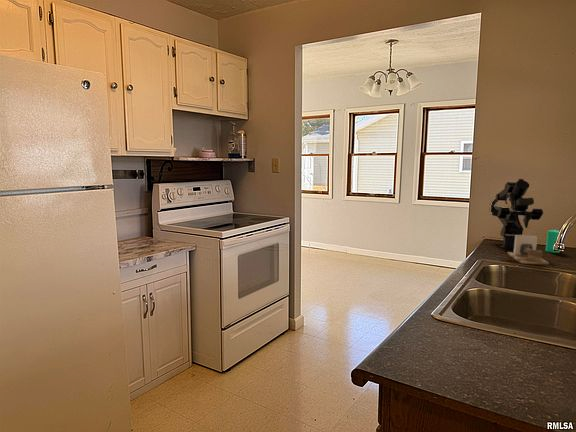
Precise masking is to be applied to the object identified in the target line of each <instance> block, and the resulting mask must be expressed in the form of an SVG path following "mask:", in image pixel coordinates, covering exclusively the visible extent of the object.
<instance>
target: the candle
mask: <svg viewBox="0 0 576 432" xmlns="http://www.w3.org/2000/svg"><path fill="white" fill-rule="evenodd" d="M559 231H560V230H557V229H550V230H547V232H546V233H547V234H546V244H545V251H546V252H548V253H555V254H556V253H557V254H559V253H560V252H561V250H560V251H554V250H553V245H554V243H555V241H556V239H557V236H558V234H559Z"/></svg>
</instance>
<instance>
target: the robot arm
mask: <svg viewBox="0 0 576 432" xmlns="http://www.w3.org/2000/svg"><path fill="white" fill-rule="evenodd" d="M529 188H530V183H529V182H528V181H526V180H524V179H523V178H518V180H517V181H507V182H506V183H505V185H504V189H502V190H501V191H499V192H498V193H496V195H495V198H496V199H495V198H494V199H495V200H494V199H493V200H494V201H493V200H492V201H493V202H492V201H491V202H492V205H491V204H490V205H491V212H492V214H491V215H492V216H494V217H497V218H498V220H499V221H500V222H501V224H502V225H503V226H502V228H501V230H500V233H499V234H500V236H501V237H503V241H502V245H500V246H499V247H500V248H502V249H504V250H505V249H506V250H513V251H514V242H515V235H523V232H524V228H525V229H528V226H529V221H531V220H533V221H539V220H540V219H541V218H542V216H543V214H544V210H543V209H542V208H532V210H531V211H530V210H528V209H529V206H532V205H534V204H535V199H534V198H533V197H523V196H525V195H526V194H527V192H528V190H529ZM499 201H504V203H505V204H508V202H507V201H509V203H510V207H508V208H502V207H497V206H494V205H497V203H498V202H499ZM519 216H522V217H523V219H522V221H523V225H524V226H523V225H522V224H521V223H522V222H521V221H520V218H519ZM523 227H524V228H523Z"/></svg>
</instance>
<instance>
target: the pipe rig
mask: <svg viewBox="0 0 576 432" xmlns="http://www.w3.org/2000/svg"><path fill="white" fill-rule="evenodd" d="M523 252H526V253H528V255H525V254H521V255H517V254H514V251H507V255H509V257H512V258H513V259H514V260H515V261H517V262H519V263H521V264H529V265H530V264H531V265H548V266H549V264H550V262H549V261H547V260H546V259H543V250H539V249H536V250H532V249H530V248H528V246H523Z"/></svg>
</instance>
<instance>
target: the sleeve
mask: <svg viewBox="0 0 576 432" xmlns="http://www.w3.org/2000/svg"><path fill="white" fill-rule="evenodd" d="M537 243H538V236H537V235H528V234H522V235H515V242H514V249H513V252H514V254H517V255H521V254H525V255H528V253H526V252H523V246H528V248H530V249H532V250H537Z"/></svg>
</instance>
